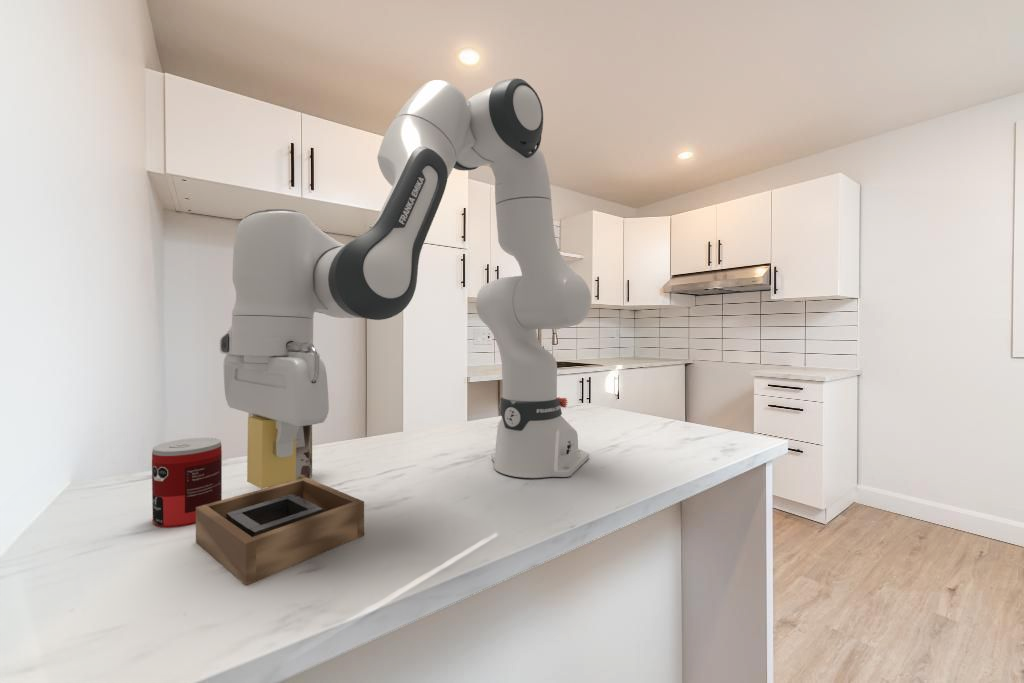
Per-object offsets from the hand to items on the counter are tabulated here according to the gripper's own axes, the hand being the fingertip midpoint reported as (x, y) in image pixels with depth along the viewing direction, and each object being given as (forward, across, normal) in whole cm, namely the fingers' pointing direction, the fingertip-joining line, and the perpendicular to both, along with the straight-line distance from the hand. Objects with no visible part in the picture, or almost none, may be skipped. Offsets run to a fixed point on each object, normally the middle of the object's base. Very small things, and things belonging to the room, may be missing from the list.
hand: (272, 451), depth 52 cm
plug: (+4, 0, 0) cm, 4 cm away
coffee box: (+12, +21, -12) cm, 27 cm away
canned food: (+12, +18, +4) cm, 22 cm away
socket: (+12, 0, 0) cm, 12 cm away
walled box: (+12, 0, -2) cm, 12 cm away
